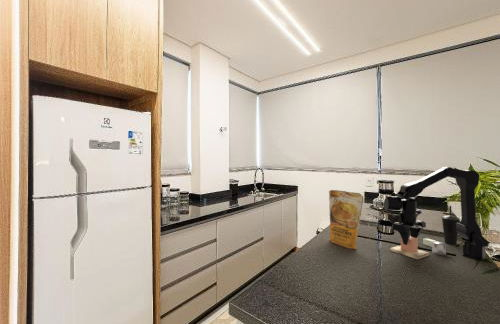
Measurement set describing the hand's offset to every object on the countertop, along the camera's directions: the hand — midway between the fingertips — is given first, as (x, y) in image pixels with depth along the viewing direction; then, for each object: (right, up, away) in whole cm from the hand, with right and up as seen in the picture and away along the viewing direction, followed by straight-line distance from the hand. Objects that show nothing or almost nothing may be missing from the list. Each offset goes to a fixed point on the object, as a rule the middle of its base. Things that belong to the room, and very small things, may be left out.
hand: (409, 243), depth 111 cm
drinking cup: (+32, -5, +14) cm, 35 cm away
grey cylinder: (+14, -5, 0) cm, 15 cm away
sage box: (+18, -5, +10) cm, 22 cm away
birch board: (0, -5, 0) cm, 4 cm away
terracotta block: (0, -3, 0) cm, 3 cm away
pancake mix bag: (-27, -5, +11) cm, 30 cm away
